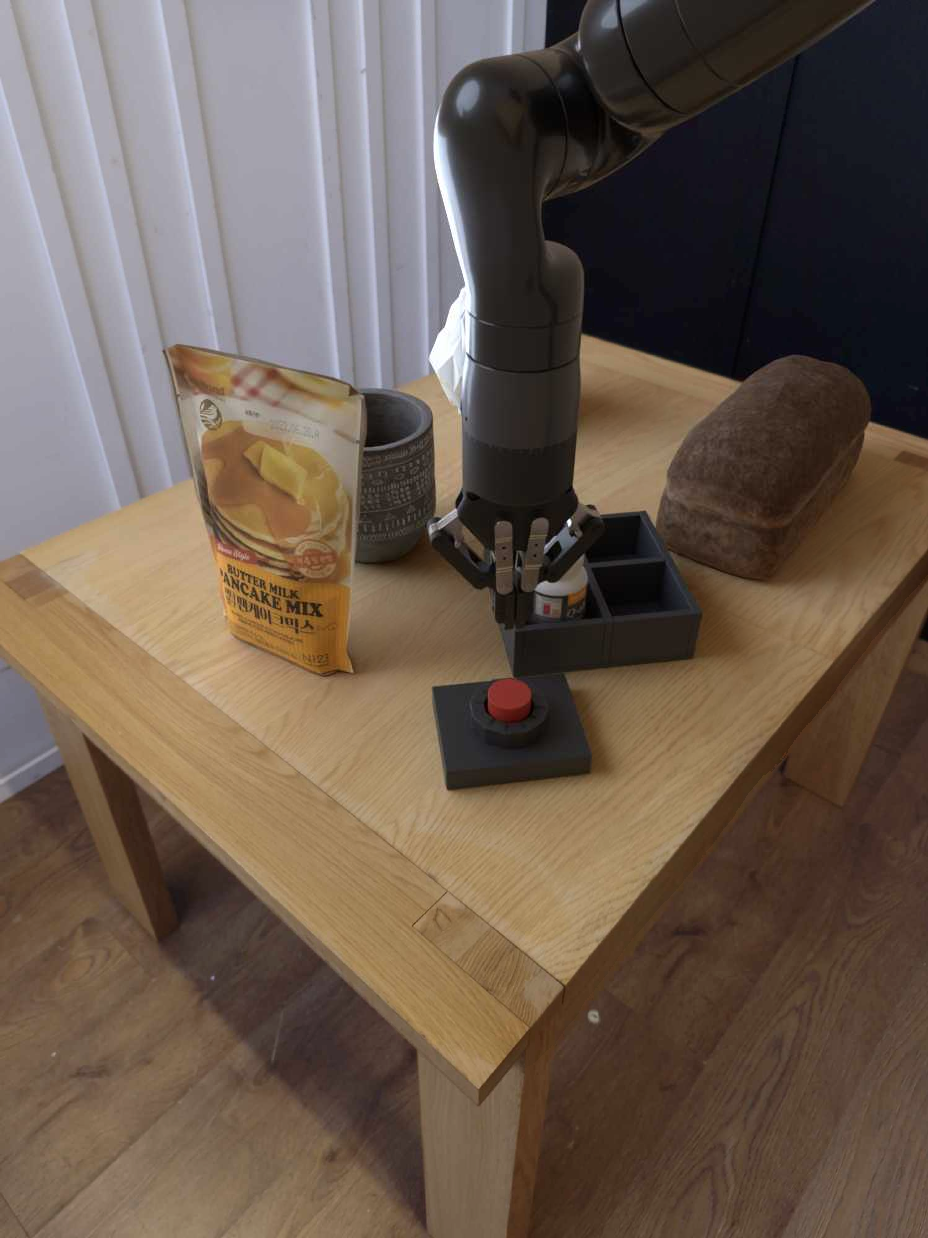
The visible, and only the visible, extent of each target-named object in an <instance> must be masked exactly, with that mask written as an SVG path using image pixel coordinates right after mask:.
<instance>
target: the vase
mask: <svg viewBox="0 0 928 1238" xmlns="http://www.w3.org/2000/svg"><path fill="white" fill-rule="evenodd" d="M465 295H466V287H465V286H463V287H462V288H461V289H460V292H459V296H458V297H457V298H456V299H455V301H454V302H453V303H452V304H451V306H450V308H449V312H448V314H447V315H448V316H447V319H446V322H445V326H444V327H443V328H442V329H441V330H440V332H439V333H438V335H437V337H436V340H435V342H434V344H433V346H432V349H431V352H430V354H429V357H428V360H429V361H428V362H430V364H431V366H432V369H433V370H434V372H435V375H436V376H437V379H438V380H439V383H440V385H441V388H442V390H443V392H444V393H445V395H446V397H447V399H448V401H449V403H450V404H451V405H452V406H454V407H456V408H457V413H458V415H461V411H460V400H461V398H462V378H463V370H464V363H465V350H466V312H465ZM461 416H462V415H461Z"/></svg>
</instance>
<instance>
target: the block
mask: <svg viewBox="0 0 928 1238" xmlns="http://www.w3.org/2000/svg"><path fill="white" fill-rule="evenodd" d="M503 679H515V680H519V681H521V682H523V683H525V684H526V685H527V686H528V687H529V688H530V690H531V710H530V714H529V715H528V717H527V718H526V719H524V720H523V721H521V722H515V723H504V722H500V721H497V720H495V719H494V718H493V717H492V716H491V715H490V714H489V712H488V690H489V688H490V687H491V686H492V684H494V683H495V682H497V681H499V680H503ZM431 698H432V700H431V701H432V708H433V714H434V715H433V716H434V721H435V722H434V723H435V726H436V728H435V729H436V732H437V739H438V746H439V753H440V759H441V765H442V769H443V770H442V771H443V776H444V782H445V788H446V790H447V791H451V790H458V789H467V788H475V787H476V788H477V787H485V786H486V787H487V786H493V785H494V786H495V785H501V784H509V783H519V782H527V781H536V780H546V779H555V778H561V777H570V776H571V777H572V776H579V775H588V774H591V767H592V761H593V753H592V752H591V748H590V746H589V742H588V739H587V736H586V733H585V730H584V727H583V724H582V721H581V718H580V716H579V712H578V710H577V707H576V704H575V701H574V697H573V695H572V692H571V688H570V686H569V683H568V680H567V677H566V674H565V672H558V673H549V674H539V675H530V676H520V677H513V676H511V677H503V678H494V679H490V680H482V681H473V682H465V683H454V684H445V685H436V686H432V687H431Z"/></svg>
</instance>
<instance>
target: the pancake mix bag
mask: <svg viewBox="0 0 928 1238" xmlns="http://www.w3.org/2000/svg"><path fill="white" fill-rule="evenodd" d="M161 352H162V354H163V356H164V358H165V361H166V365H167V368H168V371H169V375H170V379H171V383H172V387H173V392H174V397H175V403H176V406H177V410H178V413H179V417H180V421H181V426H182V430H183V431H182V432H183V436H184V442H185V448H186V452H187V456H188V459H189V463H190V467H191V475H192V481H193V485H194V490H195V496H196V499H197V502H198V504H199V505H198V506H199V508H200V511H201V514H202V519H203V522H204V525H205V528H206V532H207V536H208V539H209V544H210V548H211V552H212V555H213V558H214V561H215V562H214V563H215V567H216V571H217V578H218V587H219V588H218V589H219V592H220V598H221V603H222V616H223V617H224V618H226V619H227V625H228V629H229V632H230V633H231V634H232V635H233V636H234V637H235V638H237V639H239V640H240V641H242V642H244V643H247V644H248V645H251V646H253V647H254V648H257V649H259V650H261V651H263V652H265V653H268V654H270V655H273V656H275V657H277V658H279V659H282V660H284V661H286V662H288V663H290V664H292V665H294V666H296V667H298V668H299V669H303V670H305V671H307V672H309V673H312V674H315V675H318V676H321V677H326V676H327V675H330V674H333V673H336V672H338V671H339V672H345V673H350V674H354V673H355V672H354V670H353V665H352V662H351V658H350V654H349V652H348V649H347V647H348V641H349V640H348V639H349V633H350V626H351V625H350V624H351V618H352V603H353V601H352V600H353V584H354V576H355V575H354V574H355V563H356V562H355V554H356V544H357V528H358V523H359V518H360V496H361V476H362V462H363V451H364V445H365V439H366V434H367V411H366V404H365V398H364V396H363V395H362V394H360V393H359V392H357V391H356V390H355V389H356V388H354V387H353V386H352V385H351V384H350V383H349V382H347V381H345V380H342V379H340V378H337V377H334V376H330V375H325V374H321V373H317V372H313V371H307V370H304V369H298V368H292V367H287V366H284V365H280V364H278V363H274V362H270V361H266V360H263V359H260V358H256V357H252V356H246V355H240V354H238V353H237V354H236V353H232V352H227V351H220V350H216V349H212V348H207V347H200V346H194V345H188V344H183V343H182V344H181V343H176V344H173V345H171V346H169V347H167V348H165V349H162V350H161Z"/></svg>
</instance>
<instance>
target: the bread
mask: <svg viewBox="0 0 928 1238" xmlns="http://www.w3.org/2000/svg"><path fill="white" fill-rule="evenodd" d="M863 382H864V381H862V380H861V379H860V378H859V377H858V376H856V375H855V374H854V373H853V372H852V371H851V370H850V369H848V368H847V367H844V366H843V365H839V364H838V363H835V362H831V361H830V362H829V361H823V360H820V359H817V358H813V357H811V356H808V355H802V354H801V355H800V354H791V355H788V356H784V357H781V358H778V359H775V360H773V361H771V362H770V363H767V364H766V365H764V366H763V367H761V368H759V369H758V370H757V371H755V372H753V373H752V374H751V375H749V376H748V377H747V378H745V379H744V380H743V382H741V383H740V385H739V386H738V387H737V388H736V389H735V390H734V392H732V393H731V394H730V395H728V396H727V397H726V398H724V400H723V401H722V402H720V403H719V404H718V405H717V406H716V407H715V408H714V409H713V410H712V411H711V412H710V413H709V414H707V415H706V416H705V417H703V419H701V420H700V421H698V422H697V424H696V425H695V426H693V428H691V429H690V430H689V432H687V434H686V436H685V437H684V438H683V440H682V442H681V443H680V445H679V446H678V448H677V450H676V452H675V455H674V456H673V458H672V460H671V462H670V463H669V466H668V468H667V470H666V480H665V481H666V482H665V485H664V489H663V491H662V494H661V497H660V501H659V505H658V509H657V513H656V520H655V525H654V526H655V528H656V530H657V532H658V534H659V536H660V537H661V539H662V541H663V543H664V545H665V546H666V548H667V550H670V551H672V552H674V553H676V554H679V555H682V556H684V557H686V558H688V559H691V560H694V561H696V562H699V563H701V564H705V565H707V566H709V567H712V568H713V569H717V570H719V571H722V572H726V573H728V574H731V575H735V576H738V577H741V578H744V579H745V578H747V579H751V580H753V579H754V580H762V581H763V580H765V581H767V580H768V579H769V578H770V577H771V575H772V574H773V573H774V572H775V571H776V570H777V569H778V568H779V566H780V565H781V564H782V563H783V562H784V561H785V560H786V559H787V558H788V556H790V554H791V553H792V552H793V550H794V549H795V548H796V547H797V545H799V543H800V542H801V541H802V539H803V538H804V537H805V536H806V535H807V534H808V532H809V531H810V530H811V529H812V527H813V526H814V525H815V523H816V522H817V521H818V520H819V519H820V517H821V516H822V515H823V513H824V512H825V511H826V509H827V508H828V507H829V505H830V504H831V503H832V502H833V500H834V499H835V498H836V496H837V494H838V493H839V491H840V490H841V488H842V487H844V485H845V484H846V483H847V481H848V480H849V479H850V477H851V476H852V473H853V471H854V469H855V467H856V465H857V464H858V461H859V458H860V456H861V452H862V450H863V447H864V441H865V436H866V435H865V433H866V432H865V431H866V430H867V428H868V426H869V425H870V422H871V421H870V420H871V416H872V405H871V397H870V394H869V392H868V390H867V388H866V386H865V384H864V383H863Z"/></svg>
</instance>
